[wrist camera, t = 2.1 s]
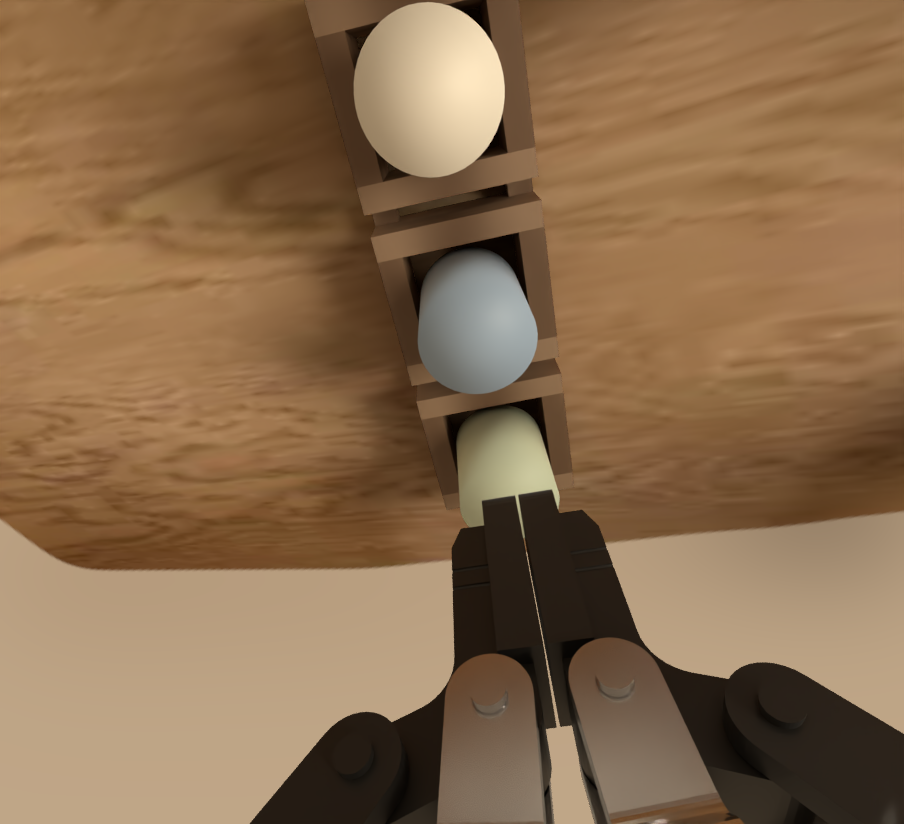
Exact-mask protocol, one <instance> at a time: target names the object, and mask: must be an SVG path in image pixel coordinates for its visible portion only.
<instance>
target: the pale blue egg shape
mask: <svg viewBox="0 0 904 824" xmlns="http://www.w3.org/2000/svg"><path fill="white" fill-rule="evenodd" d="M537 340H538V333H537V326H536V322H535V319H534V316H533V314H532V312H531V309H530V307H529V305H528V303H527V300H526V298H525V296H524V293H523V291H522V289H521V286H520V284H519V282H518V279H517V277H516V275H515V273H514V271H513V269H512V268H511V266H510V265H509V264H508V263H507V262H506V261H505V260H504V259H503V258H502V257H501V256H499V255H498V254H496V253H494V252H492V251H490V250H487V249H483V248H478V247H465V248H460V249H456V250H453V251H451V252H449V253H447V254H445V255H443V256H442V257H440V258H439V259H438V260H437V261H436V262H435V263H434V264H433V265H432V266H431V267H430V269H429V270H428V272H427V274H426V276H425V278H424V281H423V284H422V288H421V299H420V314H419V328H418V349H419V354H420V357H421V360H422V362H423V364H424V366H425V368H426V369H427V370H428V372H429V373H430V374H431V375H432V376H433V377H434V378H435V379H436V380H437V381H438V382H439V383H441V384H442V385H444V386H446V387H447V388H450V389H452V390H454V391H458V392H461V393H467V394H484V393H490V392H494V391H497V390H499V389H502V388H504V387H506V386H508V385H510V384H511V383H513V382H514V381H515V380H517V379H518V378H519V377H520V376H521V375H522V374H523V373H524V372H525V370H526V369H527V368H528V366H529V365H530V363H531V361H532V359H533V357H534V354H535V351H536V347H537Z"/></svg>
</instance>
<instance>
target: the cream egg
mask: <svg viewBox="0 0 904 824" xmlns="http://www.w3.org/2000/svg"><path fill="white" fill-rule="evenodd" d="M504 98H505V85H504V76H503V71H502V67H501V63H500V60H499V57H498V54H497V52H496V50H495V48H494V46H493V44H492V42H491V40H490V39H489V37H488V36H487V34H486V33H485V32H484V30H483V29H482V28H481V27H480V26H479V25H478V24H477V23H476V22H475V21H474V20H473V19H472V18H470V17H469V16H468V15H466V14H465V13H463V12H462V11H460V10H458V9H456V8H453V7H451V6H448V5H444V4H441V3H433V2H422V3H415V4H411V5H407V6H404V7H402V8H400V9H397V10H396V11H394V12H392V13H391V14H389V15H388V16H387V17H385V18H384V19H383V20H382V21H381V22H380V23H379V24H378V25H377V26H376V27H375V28H374V29H373V30H372V32H371V33H370V35H369V36H368V38H367V39H366V41H365V43H364V45H363V47H362V49H361V52H360V55H359V57H358V60H357V64H356V69H355V75H354V101H355V108H356V112H357V116H358V119H359V122H360V125H361V127H362V129H363V131H364V133H365V135H366V137H367V139H368V140H369V142H370V144H371V145H372V147H373V148H374V149H375V150H376V151H377V152H378V154H379V155H380V156H381V157H382V158H384V159H385V160H386V161H387V162H388V163H390V164H391V165H392V166H394V167H395V168H397V169H399V170H401V171H403V172H406V173H408V174H411V175H415V176H419V177H428V178H433V177H442V176H447V175H450V174H453V173H456V172H458V171H460V170H462V169H464V168H466V167H467V166H469V165H470V164H471V163H473V162H474V161H475V160H476V159H477V158H478V157H479V156H481V154H482V153H483V152H484V151H485V150H486V148H487V147H488V146H489V144H490V142H491V141H492V139H493V137H494V135H495V133H496V131H497V129H498V126H499V123H500V121H501V117H502V112H503V107H504Z"/></svg>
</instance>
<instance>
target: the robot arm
mask: <svg viewBox="0 0 904 824" xmlns="http://www.w3.org/2000/svg"><path fill="white" fill-rule="evenodd" d="M518 498H519V504H520V511H521V517H522V523H523V529H524V535H525V541H526V548H527V553H528V559H529V565H530V570H531V576H532V581H533V586H534V591H535V597H536V602H537V607H538V613H539V617H540V623H541V628H542V634H543V639H544V644H545V649H546V654H547V660H548V665H549V670H550V676H551V681H552V686H553V691H554V696H555V702H556V706H557V712H558V718H559V722H560V726H561V727H562V726H570V725H572V727H573V731H574V736H575V741H576V746H577V751H578V756H579V764H580V771H581V776H582V780H583V783H584V787H585V791H586V794H587V798H588V801H589V805H590V808H591V812H592V816H593V819H594V823H595V824H904V734H903V733H901V732H900V731H897V730H896V729H894V728H893V727H891V726H889V725H888V724H886V723H884V722H883V721H881V720H879V719H878V718H876V717H874V716H872V715H871V714H869V713H868V712H866V711H864V710H862V709H861V708H859V707H857V706H856V705H854V704H852V703H851V702H849V701H847V700H846V699H844V698H842V697H841V696H839V695H837V694H836V693H834V692H832V691H830V690H829V689H827V688H825V687H824V686H822V685H820V684H819V683H817V682H815V681H814V680H812V679H810V678H809V677H807V676H805V675H803V674H802V673H800V672H798V671H796V670H794V669H791V668H789V667H786V666H783V665H779V664H774V663H753V664H748V665H746V666H743V667H741V668H739V669H738V670H736V671H735V672H734V673H733V674H732V675H731V676H730V678H729V679H725V678H719V677H714V676H707V675H702V674H697V673H691V672H687V671H683V670H680V669H678V668H675V667H673V666H671V665H669V664H667V663H665V662H663V661H662V660H660V659H659V658H658V657H656V656H655V655H654V654H653V653H652V652H651V651H650V650H649V649H648V648H647V647H646V646H645V644H644V643H643V641H642V640H641V638H640V636H639V634H638V632H637V629H636V627H635V624H634V621H633V618H632V615H631V613H630V610H629V607H628V604H627V602H626V599H625V597H624V594H623V591H622V588H621V585H620V583H619V580H618V577H617V575H616V572H615V569H614V568H613V565H612V561H611V558H610V556H609V553H608V550H607V549H606V545H605V542H604V539H603V536H602V534H601V531H600V528H599V526H598V525H597V524H596V523H595V522H594V521H593V520H592V519H591V518H590V517H589V516H588V515H587V514H586V513H585V512H584V511H583V510H578V511H572V512H565V513H559V511H558V508H557V504H556V501H555V497H554V494H553V491H552V489H550V490H544V491H538V492H531V493H525V494H519V495H518ZM482 510H483V520H484V525H483V526H476V527H470V528H463V529H461V530H460V532H459V534H458V536H457V538H456V540H455V543H454V545H453V547H452V570H453V574H452V576H453V577H452V579H453V615H454V616H453V617H454V653H455V658H454V667H453V672H452V674H451V677H450V679H449V681H448V683H447V685H446V686H445V688H444V689H443V690H442V692H441V693H440V694H439V695H438V696H437V697H436V698H435V699H434V700H432V701H431V702H430V703H429V704H427V705H425V706H424V707H422V708H420V709H418V710H416V711H414V712H412V713H410V714H408V715H406V716H404V717H402V718H400V719H398V720H396V721H394V722H390V721H389V720H388V719H387V718H386V717H384V716H382V715H380V714H377V713H372V712H360V713H357V714H352V715H350V716H347V717H345V718H343V719H342V720H340V721H338V722H337V723H336V724H335V725H334V726H332V727H331V728H330V729H329V730H328V731H327V732H326V733H325V734H324V736H323V737H322V738H321V739H320V740H319V742H318V743H317V744H316V745H315V746H314V747H313V749H312V750H311V751H310V752H309V754H308V755H307V756H306V757H305V758H304V759H303V761H302V762H301V763H300V764H299V765H298V767H297V768H296V769H295V770H294V771H293V773H292V774H291V775H290V776H289V777H288V779H287V780H286V781H285V782H284V783H283V785H282V786H281V787H280V788H279V789H278V790H277V792H276V793H275V794H274V795H273V796H272V798H271V799H270V800H269V801H268V803H267V804H266V805H265V806H264V807H263V808H262V810H261V811H260V812H259V813H258V814H257V816H256V817H255V818H254V819H253V820H252V822H251V823H250V824H554V814H553V804H552V793H551V782H550V778H551V769H552V768H551V759H550V753H549V747H548V741H547V735H546V729H548V728H556V721H555V715H554V709H553V703H552V696H551V690H550V684H549V678H548V671H547V666H546V659H545V653H544V647H543V641H542V636H541V630H540V625H539V620H538V614H537V609H536V604H535V598H534V593H533V588H532V583H531V578H530V572H529V566H528V561H527V556H526V550H525V545H524V540H523V534H522V529H521V524H520V518H519V513H518V508H517V502H516V497H515V495H514V496H507V497H501V498H495V499H488V500H482Z"/></svg>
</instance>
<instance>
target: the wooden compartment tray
mask: <svg viewBox="0 0 904 824" xmlns="http://www.w3.org/2000/svg"><path fill="white" fill-rule="evenodd" d="M304 1H305V5H306V8H307V12H308V16H309V19H310V23H311V26H312V30H313V34H314V37H315V41H316V44H317V48H318V51H319V55H320V59H321V62H322V66H323V69H324V73H325V77H326V80H327V84H328V87H329V91H330V94H331V98H332V102H333V105H334V109H335V112H336V116H337V120H338V123H339V127H340V130H341V134H342V137H343V141H344V145H345V148H346V152H347V155H348V159H349V163H350V166H351V170H352V173H353V177H354V180H355V184H356V188H357V191H358V195H359V198H360V202H361V205H362V209H363V213H364V216H365V215H370V214H372V216H373V219H374V223H375V229H374V231H373V233H372V235H371V241H372V245H373V248H374V252H375V256H376V259H377V263H378V266H379V270H380V274H381V277H382V281H383V284H384V288H385V291H386V295H387V299H388V302H389V306H390V309H391V313H392V317H393V320H394V324H395V327H396V331H397V334H398V338H399V342H400V345H401V349H402V352H403V356H404V360H405V363H406V367H407V370H408V374H409V377H410V381H411V385H412V386H415V385H417V398H416V402H417V406H418V410H419V413H420V417H421V420H422V424H423V428H424V431H425V435H426V438H427V442H428V445H429V449H430V453H431V456H432V460H433V463H434V467H435V471H436V474H437V478H438V481H439V485H440V488H441V492H442V496H443V499H444V503H445V506H446V510H450V509H456V508H460V498H459V481H458V464H457V448H456V442H455V438H454V434H453V430H452V426H451V422H450V418H449V414H455V413H460V412H465V411H470V410H475V409H481V408H486V407H491V406H496V405H502V404H507V403H512V402H517V401H523V400H528V399H533V398H536V401H537V408H538V415H539V422H540V429H541V436H542V440H543V443H544V446H545V449H546V453H547V456H548V459H549V462H550V466H551V469H552V472H553V475H554V479H555V482H556V485H557V488H558V490H563V489H569V488H574V481H573V473H572V464H571V455H570V446H569V438H568V429H567V420H566V411H565V403H564V394H563V385H562V376H561V372H560V370H559V368H558V365H557V363H556V361H555V359H554V358H557V357H559V350H558V341H557V333H556V324H555V315H554V306H553V298H552V289H551V280H550V271H549V263H548V254H547V245H546V236H545V228H544V219H543V210H542V201H541V199H540V198H539V197H538V196H537V195H536V194H535V193H534V192H533V187H532V178H534V177H539V175H538V166H537V158H536V149H535V140H534V131H533V123H532V114H531V105H530V96H529V88H528V79H527V70H526V61H525V53H524V44H523V35H522V26H521V18H520V9H519V0H304ZM422 2H433V3H441V4H444V5H448V6H451V7H453V8H456V9H458V10H460V11H465V10H469V9H473V8H477V7H479V9H480V16H481V23H482V29H483V30H484V32H485V33H486V34H487V36H488V37H489V39H490V40H491V42H492V44H493V46H494V48H495V50H496V52H497V54H498V57H499V60H500V63H501V67H502V71H503V76H504V85H505V98H504V107H503V112H502V117H501V121H500V123H499V126H498V129H497V133H498V140H499V146H497V147H492V148H488V149H486V150H485V151H484V152H483V153H482V154H481V156H479V157H478V158H477V159H476V160H475V161H474V162H473V163H471V164H470V165H469V166H467V167H466V168H464V169H462V170H460V171H458V172H456V173H453V174H450V175H447V176H442V177H433V178H428V177H419V176H415V175H411V174H408V173H406V172H403V171H401V170H399V169H397V170H393V171H389V170H388V166H387V162H386V160H385V159H384V158H382V157H381V156H380V155H379V154H378V152H377V151H376V150H375V149H374V148H373V147H372V145H371V144H370V142H369V140H368V139H367V137H366V135H365V133H364V131H363V129H362V127H361V125H360V122H359V119H358V116H357V112H356V108H355V101H354V75H355V69H356V64H357V60H358V57H359V55H360V53H359V49H358V44H357V40H356V38H358V37H362V36H366V35H370V33H371V32H372V30H373V29H374V28H375V27H376V26H377V25H378V24H379V23H380V22H381V21H382V20H383V19H384V18H385V17H387V16H388V15H389V14H391V13H392V12H394V11H396V10H397V9H400V8H402V7H404V6H407V5H411V4H415V3H422ZM503 184H505V188H506V193H502V194H498V195H493V196H489V197H485V198H480V199H476V200H471V201H467V202H462V203H458V204H453V205H449V206H444V207H440V208H435V209H431V210H426V211H422V212H418V213H413V214H409V215H404V216H400V215H399V211H398V208H401V207H405V206H410V205H414V204H419V203H423V202H428V201H432V200H437V199H441V198H445V197H450V196H454V195H459V194H463V193H468V192H472V191H476V190H481V189H485V188H490V187H494V186H499V185H503ZM509 234H512V236H513V243H514V250H515V257H516V264H517V271H518V278H519V284H520V286H521V289H522V291H523V293H524V296H525V298H526V300H527V303H528V305H529V307H530V309H531V312H532V314H533V316H534V319H535V322H536V326H537V333H538V340H537V347H536V351H535V354H534V357H533V359H532V361H531V363H530V365H529V366H528V368H527V369H526V370H525V372H524V373H523V374H522V375H521V376H520V377H519V378H518V379H517V380H515V381H514V382H513V383H511V384H510V385H508V386H506V387H504V388H502V389H499V390H497V391H494V392H490V393H484V394H467V393H461V392H458V391H454V390H452V389H450V388H447V387H446V386H444V385H442V384H441V383H439V382H438V381H437V380H436V379H435V378H434V377H433V376H432V375H431V374H430V373H429V372H428V370H427V369H426V368H425V366H424V364H423V362H422V360H421V357H420V354H419V349H418V328H419V314H420V296H419V292H418V288H417V284H416V280H415V276H414V272H413V268H412V263H411V259H410V256H412V255H417V254H421V253H426V252H430V251H435V250H440V249H444V248H449V247H453V246H458V245H463V244H467V243H472V242H476V241H481V240H486V239H490V238H495V237H499V236H504V235H509Z"/></svg>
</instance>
